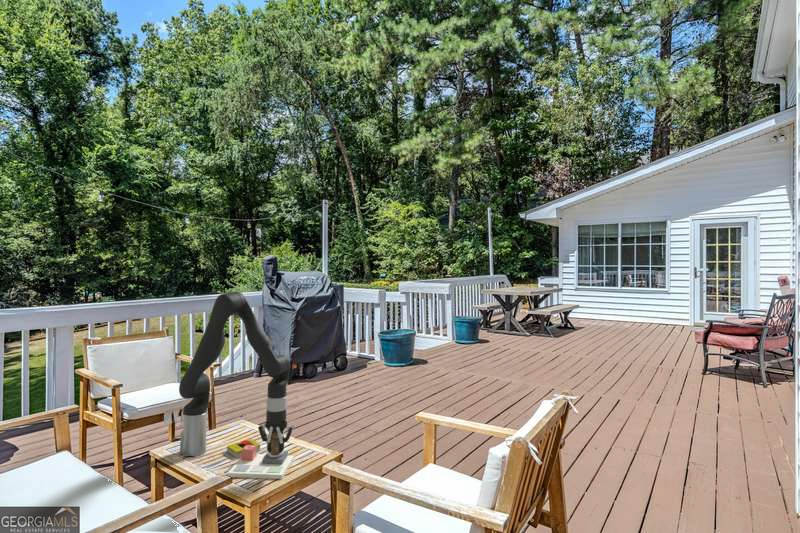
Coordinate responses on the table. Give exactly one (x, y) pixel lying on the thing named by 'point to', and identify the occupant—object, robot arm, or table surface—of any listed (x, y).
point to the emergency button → (239, 449)
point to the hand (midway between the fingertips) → (275, 451)
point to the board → (262, 467)
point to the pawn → (275, 444)
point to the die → (249, 452)
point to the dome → (275, 455)
